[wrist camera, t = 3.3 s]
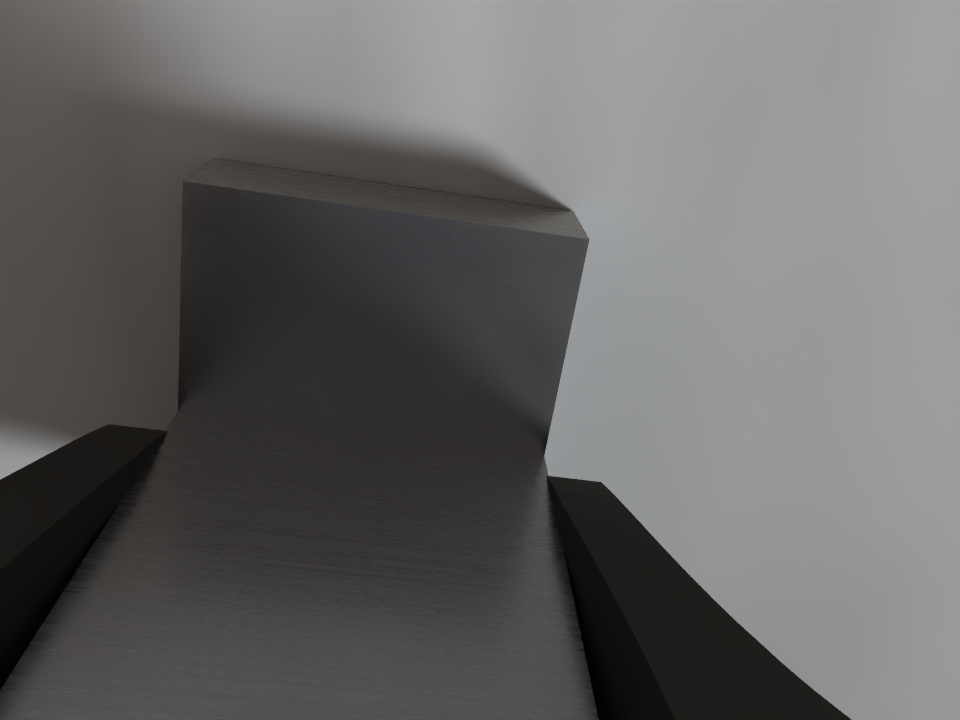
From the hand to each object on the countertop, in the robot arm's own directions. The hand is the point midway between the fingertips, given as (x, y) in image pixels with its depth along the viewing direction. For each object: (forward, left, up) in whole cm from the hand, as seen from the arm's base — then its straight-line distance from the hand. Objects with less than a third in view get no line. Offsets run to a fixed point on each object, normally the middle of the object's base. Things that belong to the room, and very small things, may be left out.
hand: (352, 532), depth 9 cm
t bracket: (0, 0, -2) cm, 2 cm away
